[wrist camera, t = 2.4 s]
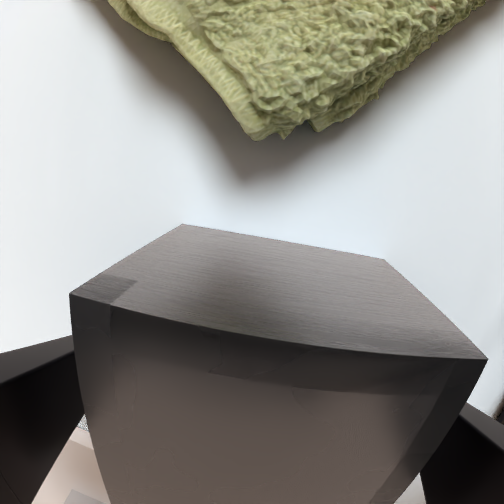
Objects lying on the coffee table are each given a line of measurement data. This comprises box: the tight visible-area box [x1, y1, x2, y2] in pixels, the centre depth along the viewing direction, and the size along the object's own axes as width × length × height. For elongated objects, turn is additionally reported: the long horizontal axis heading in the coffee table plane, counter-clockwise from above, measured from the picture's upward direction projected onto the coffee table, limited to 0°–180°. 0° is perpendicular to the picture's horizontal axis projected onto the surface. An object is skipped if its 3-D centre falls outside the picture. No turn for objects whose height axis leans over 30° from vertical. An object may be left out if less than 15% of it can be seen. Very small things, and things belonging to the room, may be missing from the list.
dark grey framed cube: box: [69, 224, 488, 504], centre depth 8 cm, size 6×6×6 cm
